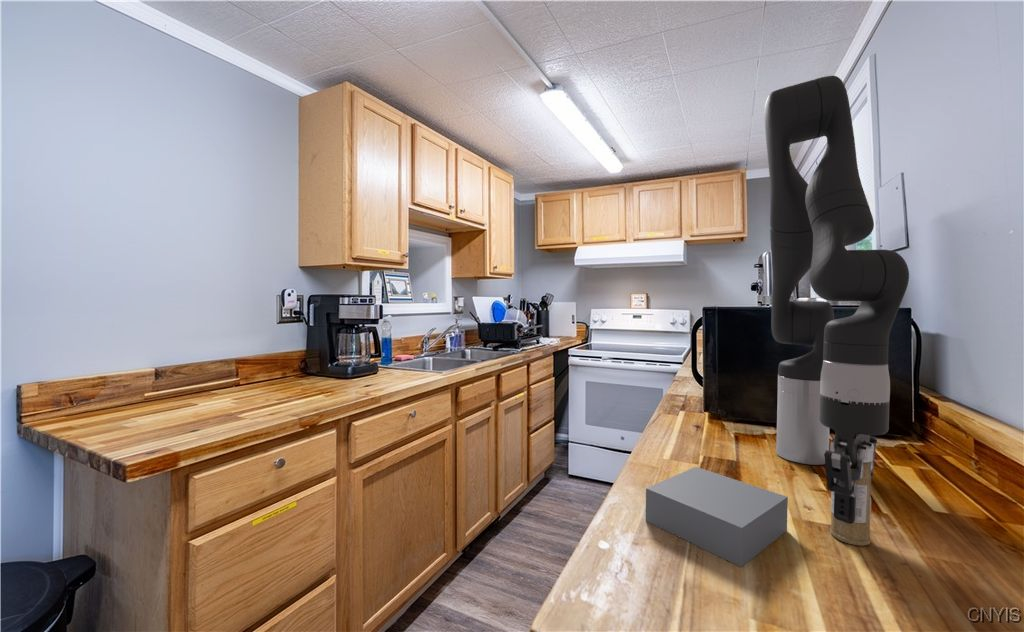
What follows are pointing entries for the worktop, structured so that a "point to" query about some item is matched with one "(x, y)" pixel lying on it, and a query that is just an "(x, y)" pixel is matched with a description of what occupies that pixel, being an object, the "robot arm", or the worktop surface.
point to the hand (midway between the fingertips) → (849, 514)
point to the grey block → (718, 513)
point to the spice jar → (856, 510)
